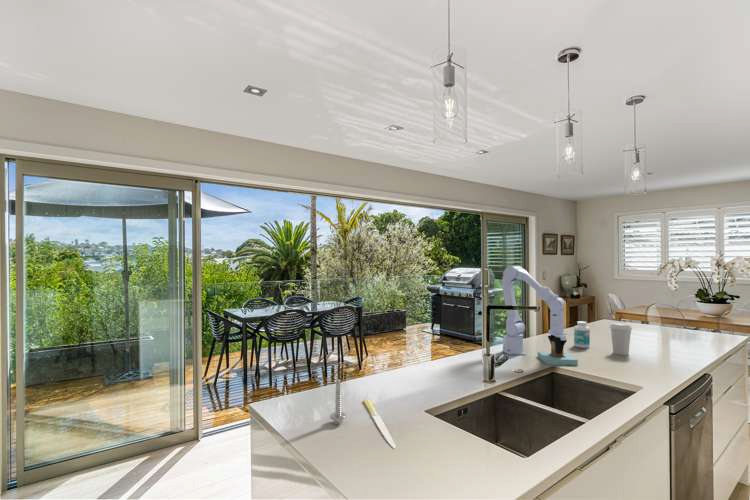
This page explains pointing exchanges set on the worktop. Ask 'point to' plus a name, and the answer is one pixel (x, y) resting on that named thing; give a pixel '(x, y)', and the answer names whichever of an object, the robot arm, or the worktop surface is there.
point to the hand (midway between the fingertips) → (556, 352)
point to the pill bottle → (582, 335)
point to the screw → (338, 406)
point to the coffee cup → (621, 338)
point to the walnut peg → (553, 350)
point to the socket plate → (557, 359)
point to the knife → (379, 422)
